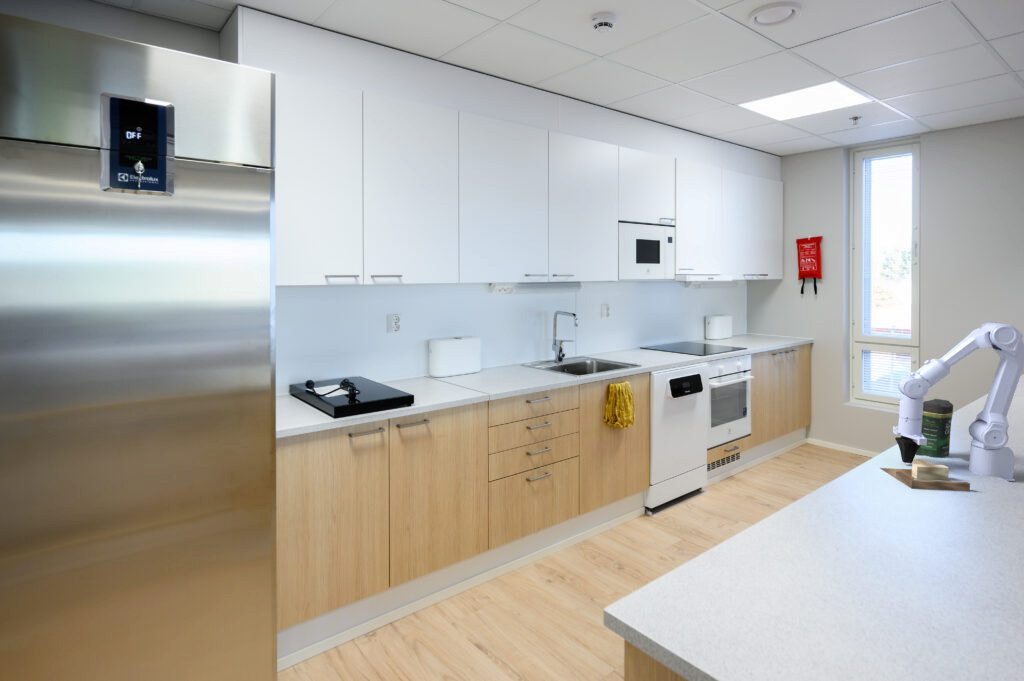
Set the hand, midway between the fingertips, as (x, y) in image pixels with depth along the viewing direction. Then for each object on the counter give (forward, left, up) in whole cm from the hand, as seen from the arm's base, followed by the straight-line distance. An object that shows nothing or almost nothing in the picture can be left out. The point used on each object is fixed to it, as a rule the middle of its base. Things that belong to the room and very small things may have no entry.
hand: (907, 462), depth 171 cm
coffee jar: (-14, -14, -2) cm, 20 cm away
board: (+3, +13, -2) cm, 13 cm away
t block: (0, +9, -1) cm, 9 cm away
